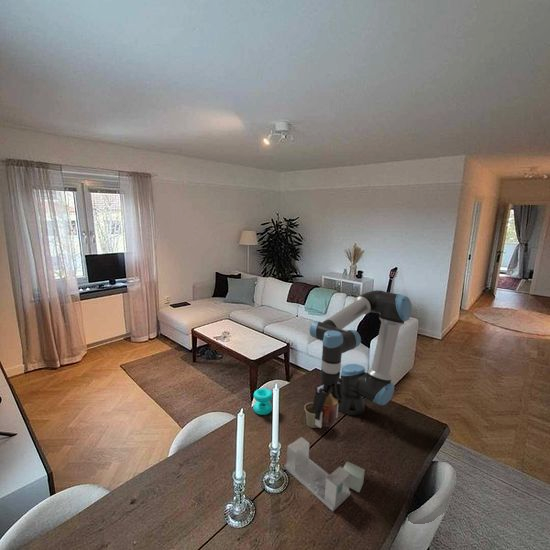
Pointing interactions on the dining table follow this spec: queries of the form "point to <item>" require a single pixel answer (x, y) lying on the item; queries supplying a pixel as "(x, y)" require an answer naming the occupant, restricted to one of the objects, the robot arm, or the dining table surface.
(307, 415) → the flower pot
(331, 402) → the mug
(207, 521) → the dining table surface
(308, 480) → the grey u-shaped block
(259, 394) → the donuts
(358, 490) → the block
